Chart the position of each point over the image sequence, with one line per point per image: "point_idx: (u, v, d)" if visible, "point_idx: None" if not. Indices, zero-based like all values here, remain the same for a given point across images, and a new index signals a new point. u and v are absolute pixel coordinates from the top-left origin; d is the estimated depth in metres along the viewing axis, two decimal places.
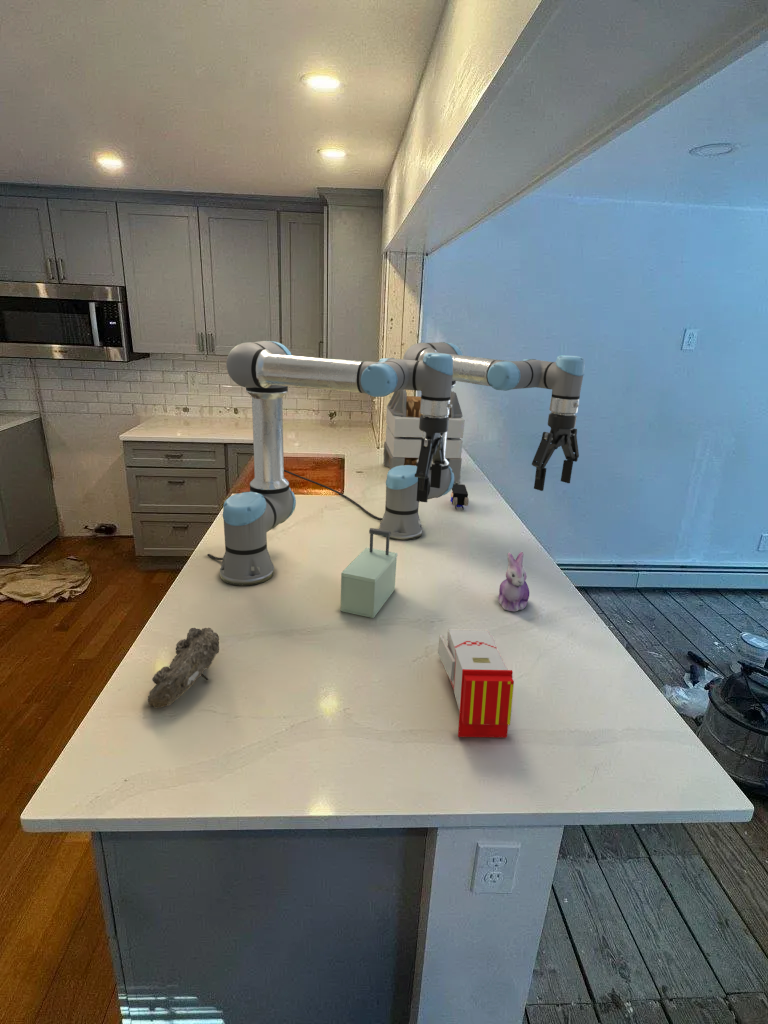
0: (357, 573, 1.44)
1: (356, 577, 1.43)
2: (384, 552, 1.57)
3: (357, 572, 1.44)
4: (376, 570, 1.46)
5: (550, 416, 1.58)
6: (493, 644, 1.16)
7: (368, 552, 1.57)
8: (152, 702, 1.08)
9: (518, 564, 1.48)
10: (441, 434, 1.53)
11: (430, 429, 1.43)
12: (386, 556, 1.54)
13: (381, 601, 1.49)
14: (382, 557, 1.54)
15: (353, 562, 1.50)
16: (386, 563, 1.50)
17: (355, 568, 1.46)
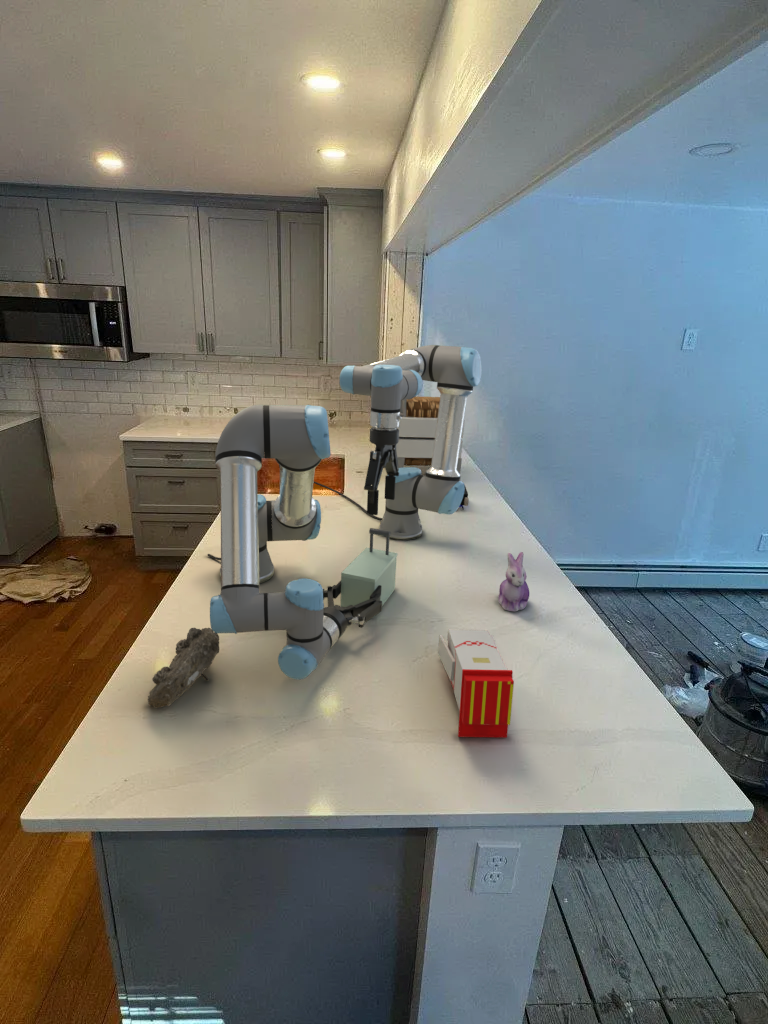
0: (357, 573, 1.44)
1: (356, 577, 1.43)
2: (384, 552, 1.57)
3: (357, 572, 1.44)
4: (376, 570, 1.46)
5: (373, 432, 1.42)
6: (493, 644, 1.16)
7: (368, 552, 1.57)
8: (152, 702, 1.08)
9: (518, 564, 1.48)
10: None
11: None
12: (386, 556, 1.54)
13: None
14: (382, 557, 1.54)
15: (353, 562, 1.50)
16: (386, 563, 1.50)
17: (355, 568, 1.46)
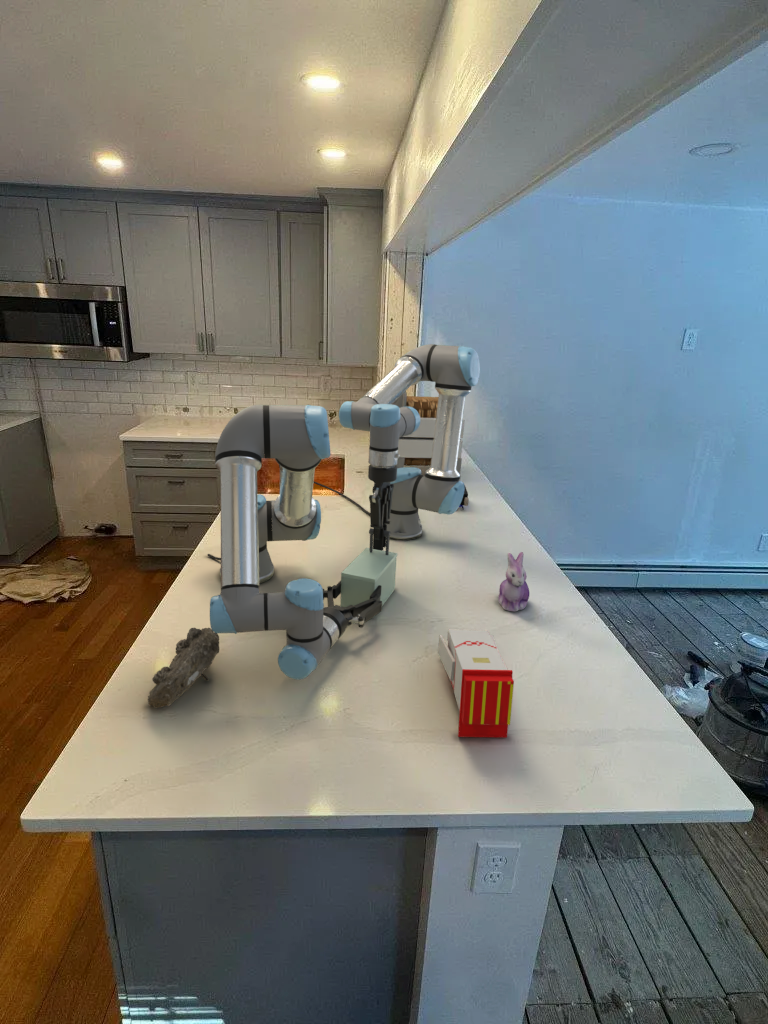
0: (357, 573, 1.44)
1: (356, 577, 1.43)
2: (384, 552, 1.57)
3: (357, 572, 1.44)
4: (376, 570, 1.46)
5: (372, 470, 1.46)
6: (493, 644, 1.16)
7: (367, 552, 1.56)
8: (152, 702, 1.08)
9: (518, 564, 1.48)
10: None
11: None
12: (386, 556, 1.54)
13: None
14: (382, 557, 1.54)
15: (353, 562, 1.50)
16: (386, 563, 1.50)
17: (355, 568, 1.46)
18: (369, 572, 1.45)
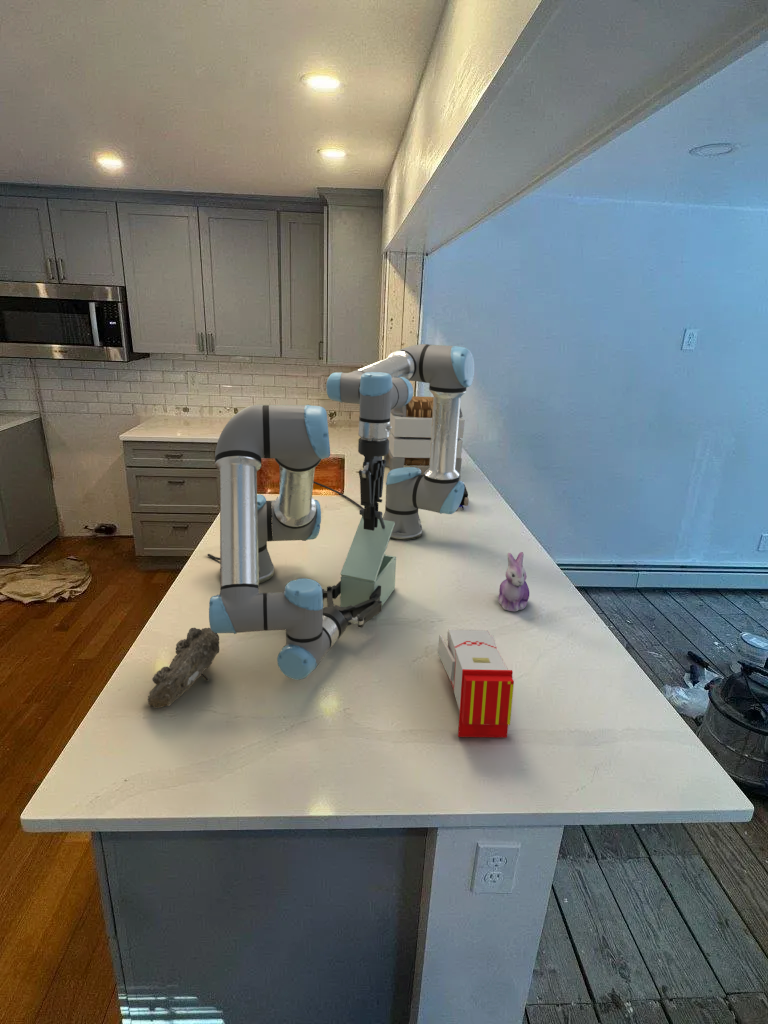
0: (356, 571, 1.43)
1: (355, 578, 1.43)
2: (380, 523, 1.50)
3: (356, 570, 1.43)
4: (374, 562, 1.44)
5: (362, 443, 1.36)
6: (493, 644, 1.16)
7: None
8: (152, 702, 1.08)
9: (518, 564, 1.48)
10: None
11: None
12: (383, 531, 1.48)
13: None
14: (379, 534, 1.48)
15: (350, 551, 1.47)
16: (383, 546, 1.46)
17: (353, 563, 1.44)
18: (367, 568, 1.43)
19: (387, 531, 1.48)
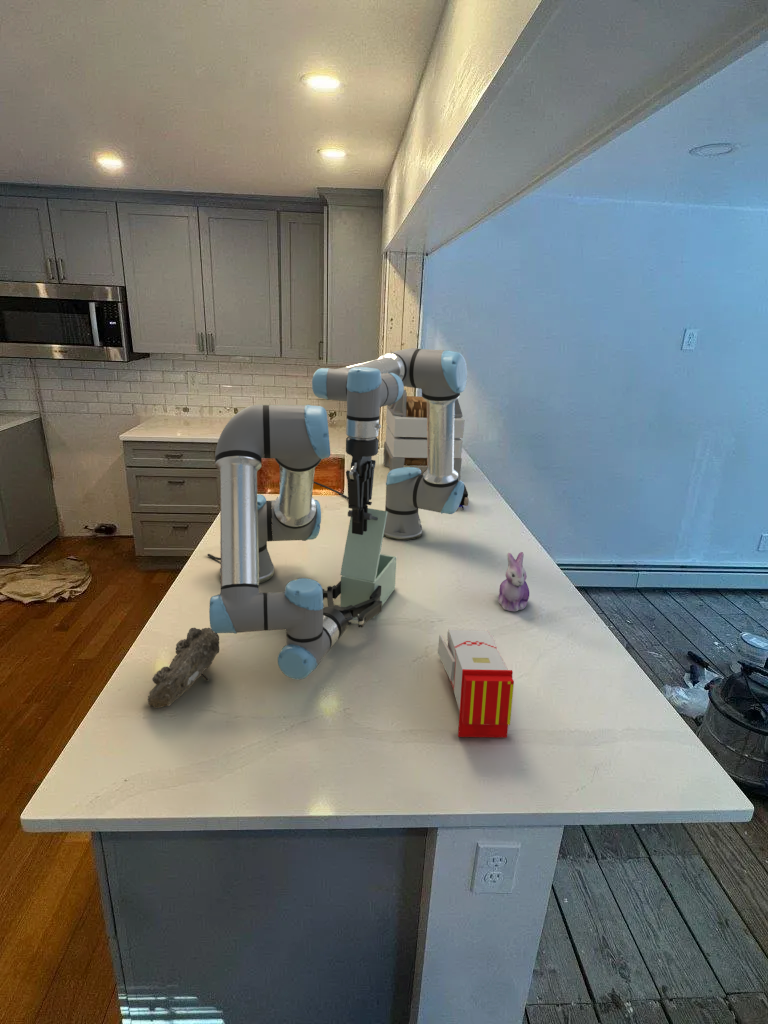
0: (355, 571, 1.42)
1: None
2: (373, 514, 1.43)
3: (355, 570, 1.42)
4: (372, 561, 1.41)
5: (349, 442, 1.28)
6: (493, 644, 1.16)
7: None
8: (152, 702, 1.08)
9: (518, 564, 1.48)
10: None
11: None
12: (376, 523, 1.42)
13: None
14: (372, 527, 1.42)
15: (346, 548, 1.44)
16: (379, 541, 1.41)
17: (351, 562, 1.43)
18: (366, 567, 1.42)
19: (380, 523, 1.42)
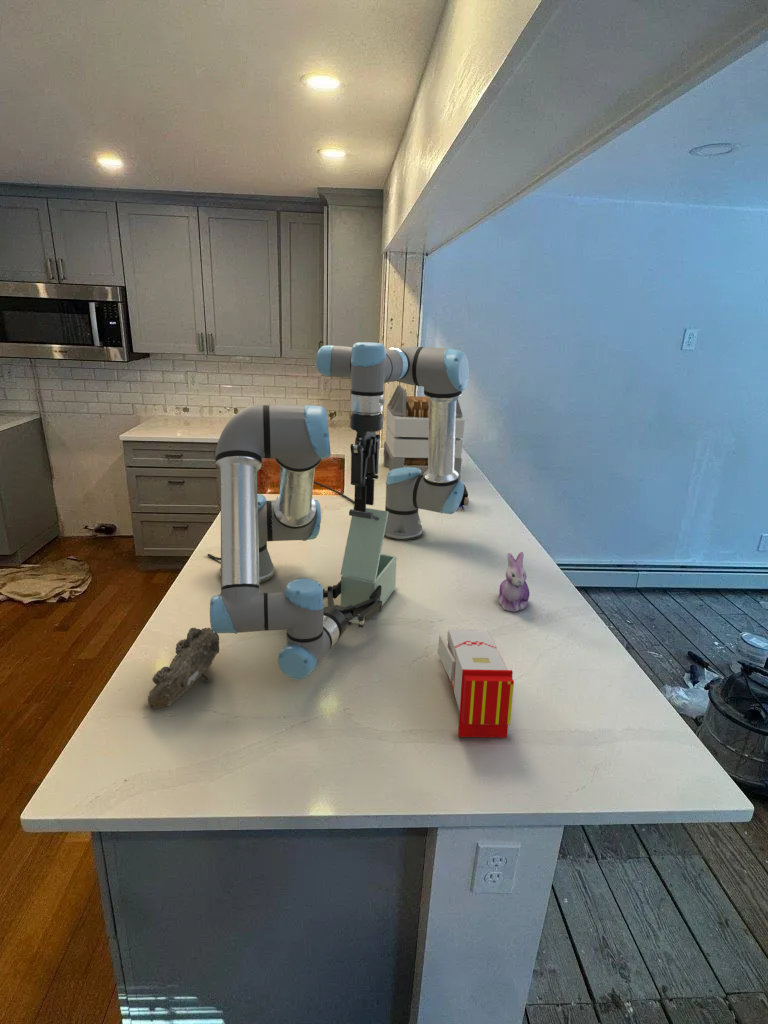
0: (355, 571, 1.42)
1: (356, 577, 1.43)
2: (374, 514, 1.43)
3: (355, 570, 1.43)
4: (372, 560, 1.42)
5: (354, 418, 1.29)
6: (493, 644, 1.16)
7: (357, 518, 1.44)
8: (152, 702, 1.08)
9: (518, 564, 1.48)
10: None
11: None
12: (377, 523, 1.43)
13: None
14: (373, 527, 1.43)
15: (347, 548, 1.44)
16: (379, 541, 1.42)
17: (351, 562, 1.43)
18: (366, 567, 1.42)
19: (381, 523, 1.42)
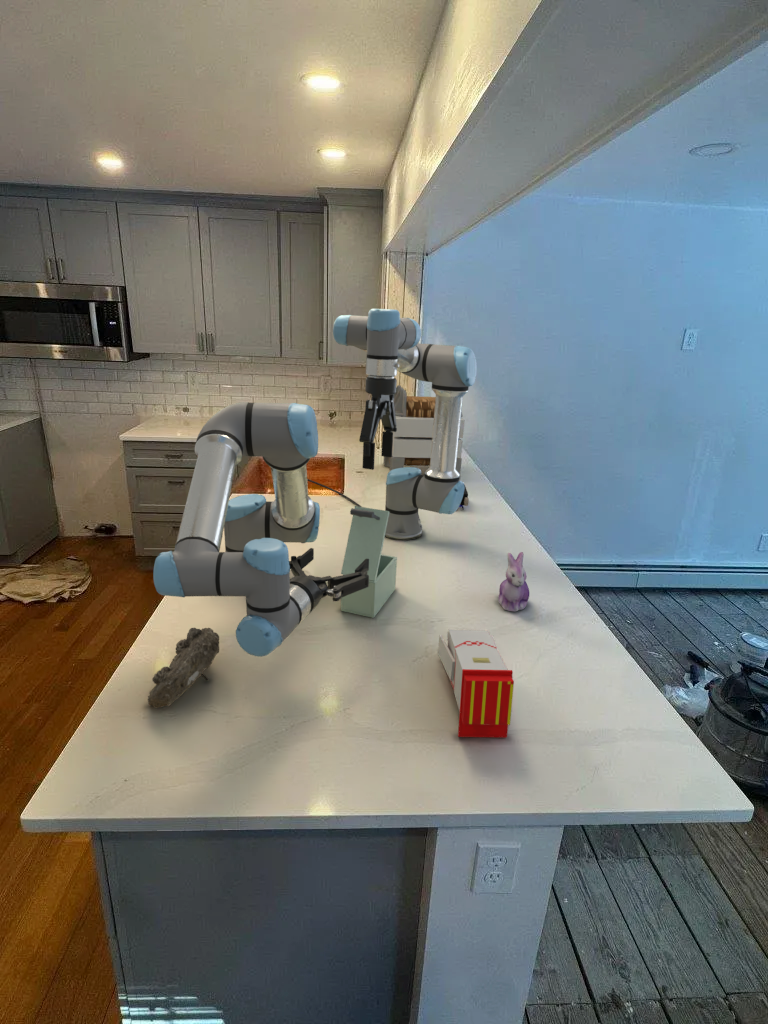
0: None
1: None
2: (375, 513, 1.44)
3: None
4: (373, 560, 1.42)
5: (369, 381, 1.34)
6: (493, 644, 1.16)
7: (358, 518, 1.45)
8: (152, 702, 1.08)
9: (518, 564, 1.48)
10: None
11: None
12: (378, 523, 1.43)
13: (381, 601, 1.50)
14: (374, 527, 1.43)
15: (348, 547, 1.44)
16: (380, 541, 1.42)
17: (352, 562, 1.43)
18: None
19: (382, 523, 1.43)
